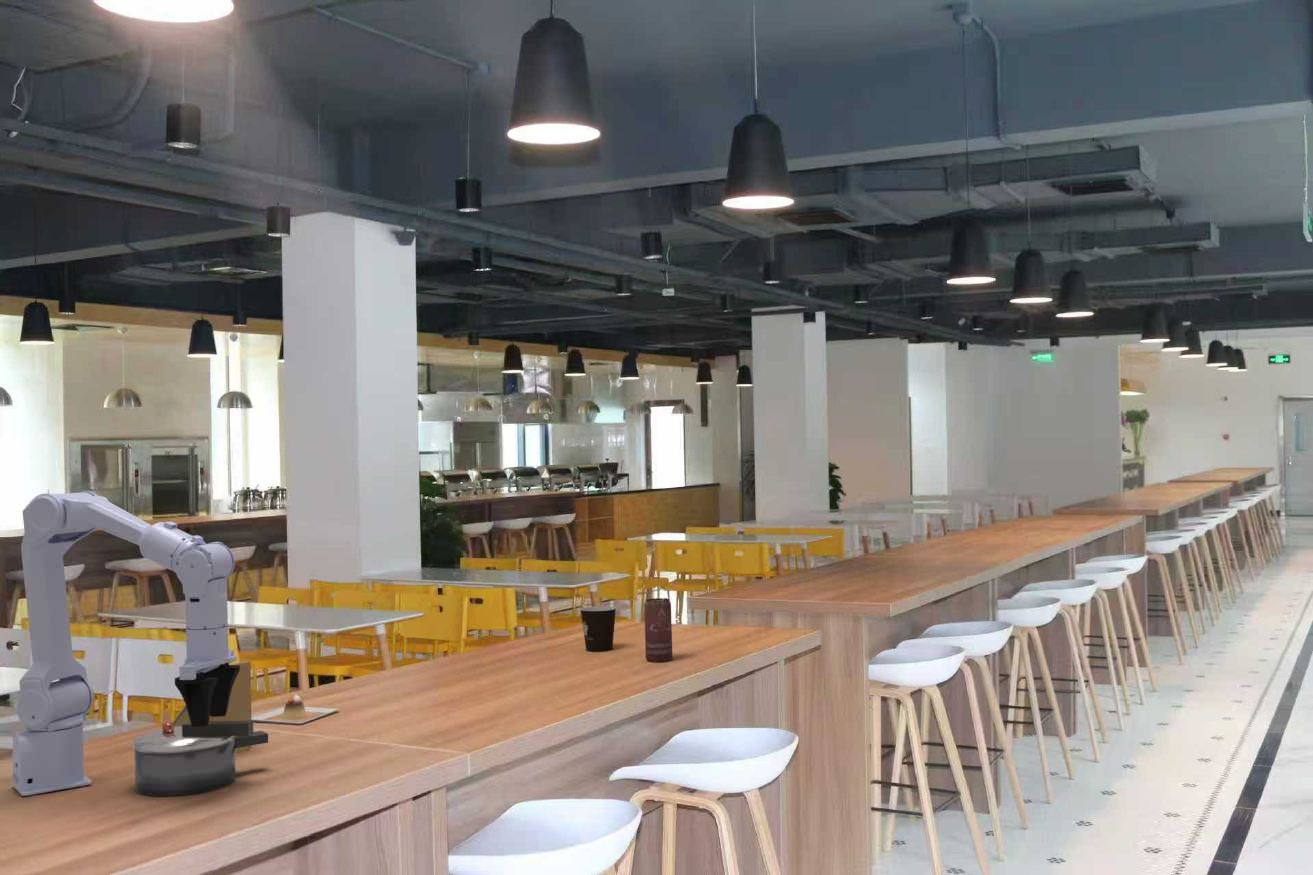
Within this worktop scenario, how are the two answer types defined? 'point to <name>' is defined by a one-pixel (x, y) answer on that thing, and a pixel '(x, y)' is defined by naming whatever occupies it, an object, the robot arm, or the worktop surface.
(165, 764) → the cooker pot
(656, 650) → the can
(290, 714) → the dessert
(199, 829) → the worktop surface
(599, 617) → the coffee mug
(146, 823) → the worktop surface
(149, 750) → the cooker lid
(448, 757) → the worktop surface
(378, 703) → the worktop surface
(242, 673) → the sandwich container
